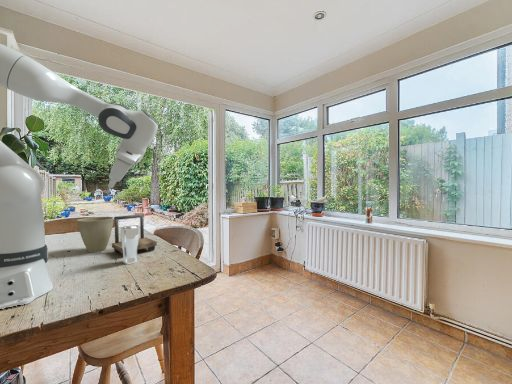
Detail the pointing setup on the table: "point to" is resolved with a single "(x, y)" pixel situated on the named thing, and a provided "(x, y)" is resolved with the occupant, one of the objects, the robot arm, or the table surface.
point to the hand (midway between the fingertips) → (112, 182)
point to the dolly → (142, 241)
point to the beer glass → (129, 244)
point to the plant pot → (95, 232)
